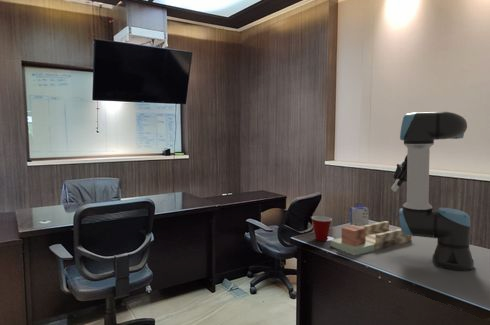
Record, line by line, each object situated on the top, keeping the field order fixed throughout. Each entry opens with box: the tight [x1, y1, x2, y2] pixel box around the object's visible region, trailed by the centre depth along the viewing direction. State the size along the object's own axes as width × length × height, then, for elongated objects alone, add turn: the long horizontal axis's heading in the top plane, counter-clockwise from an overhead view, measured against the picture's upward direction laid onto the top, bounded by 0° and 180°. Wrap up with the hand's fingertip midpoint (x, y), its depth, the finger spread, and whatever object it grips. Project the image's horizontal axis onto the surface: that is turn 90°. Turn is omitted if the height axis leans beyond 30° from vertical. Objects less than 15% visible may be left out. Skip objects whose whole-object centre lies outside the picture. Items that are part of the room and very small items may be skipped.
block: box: [341, 224, 366, 246], centre depth 167 cm, size 8×8×8 cm
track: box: [359, 220, 413, 251], centre depth 178 cm, size 27×16×7 cm, turn 118°
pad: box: [330, 237, 375, 257], centre depth 169 cm, size 13×16×3 cm
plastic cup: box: [311, 215, 333, 242], centre depth 183 cm, size 11×11×12 cm
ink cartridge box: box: [349, 203, 370, 226], centre depth 202 cm, size 10×6×14 cm, turn 89°
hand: (393, 189), depth 180 cm, fingers closed
